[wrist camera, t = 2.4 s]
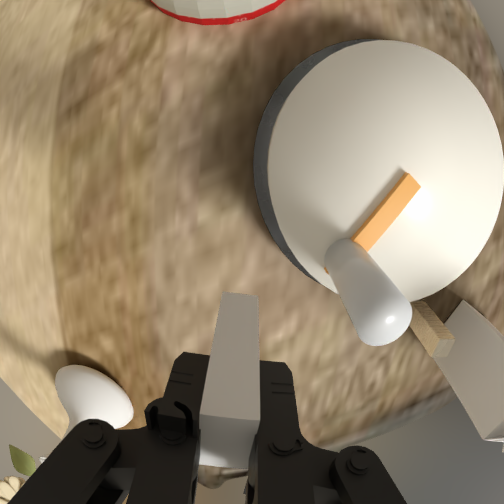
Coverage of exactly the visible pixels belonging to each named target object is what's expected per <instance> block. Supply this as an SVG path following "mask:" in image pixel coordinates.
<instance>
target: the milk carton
mask: <svg viewBox="0 0 504 504" xmlns="http://www.w3.org/2000/svg"><path fill="white" fill-rule="evenodd" d="M444 325H445V326H446V328H447V329H448V330H449V331H450V332H451V334H452V335H453V336H454V337H455V339H456V340H455V342H454V344H453V346H452V348H451V350H450V352H449V353H448V355H447V357H433V359H434V360H435V362H436V363H437V365H438V366H439V368H440V369H441V371H442V372H443V374H444V376H445V377H446V379H447V380H448V382H449V383H450V385H451V387H452V388H453V390H454V392H455V393H456V395H457V396H458V398H459V400H460V401H461V403H462V405H463V406H464V408H465V410H466V411H467V413H468V415H469V417H470V418H471V420H472V422H473V424H474V425H475V427H476V429H477V431H478V432H479V434H480V436H481V437H482V439H483V440H488V441H498V442H504V336H503V335H502V334H501V333H500V332H499V331H498V330H497V329H496V328H495V327H494V326H493V325H492V324H491V323H490V322H489V321H488V320H487V319H486V318H485V317H484V316H483V315H482V314H480V313H479V312H478V311H477V310H476V309H474V308H473V307H472V306H471V305H470V304H468V303H467V302H466V301H465V300H462V301H461V303H460V304H459V305H458V307H457V308H456V309H455V311H454V312H453V313H452V315H451V316H450V317H449V318H448V320H447V321H446V322H445V323H444ZM502 452H504V444H503V449H502Z"/></svg>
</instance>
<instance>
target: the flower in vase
mask: <svg viewBox="0 0 504 504" xmlns="http://www.w3.org/2000/svg"><path fill="white" fill-rule="evenodd" d="M55 387H56V391H57V394H58V397H59V399H60V401H61V403H62V405H63V406H64V408H65V410H66V412H67V413H68V416H69V426H68V428H67V431H66V433H65V435H64V437H63V438H62V440H63V439H64V438H65V437H66V435H67V434H68V433H69V432H70V431H71V430H72V429H73V428H74V426H76V425H77V424H78V423H80V422H81V421H84V420H87V419H100V420H103V421H106V422H108V423H109V424H110V425H112V426H113V427H114V429H116V428H120V427H123V426H125V425H126V424H127V423H128V422H129V421H130V420H131V419H132V418H133V407H132V404H131V401H130V399H129V397H128V396H127V394H126V393H125V392H124V390H123V389H122V388H121V387H120V386H119V385H118V384H117V383H116V382H114V381H113V380H112V379H110V378H109V377H107V376H106V375H104V374H102V373H101V372H99V371H97V370H95V369H92V368H89V367H86V366H82V365H69V366H65V367H62V368H61V369H59V370H58V372H57V374H56V379H55ZM62 440H61V441H62ZM61 441H60V442H61ZM9 448H10V454H11V459H12V462H13V465H14V467H15V469H16V470H17V471H18V472H19V473H22V474H24V475H27V476H31V475H32V474H33V473H34V472H35V471H36V468H35V461H34V459H33V458H32V457H31V456H30V455H28V454H27V453H25V452H23V451H22V450H20V449H18V448H16V447H14V446H12V445H9ZM50 454H51V452H50V453H49V454H47V455H44V456H41V457H40V458H39V460H40V462H41V463H43V462H44V460H45V459H46V458H47V457H48V456H49V455H50ZM24 483H25V480H24V479H23V478H20V477H18V478H17V477H15V476H10V477H8V476H7V477H5V478H4V481H1V480H0V504H7V503H8V502H9V501H10V500H11V499H12V497H13V496H14V495H15V494H16V493H17V492H18V490H19V489H20V488H21V487H22V486H23V485H24Z"/></svg>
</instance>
